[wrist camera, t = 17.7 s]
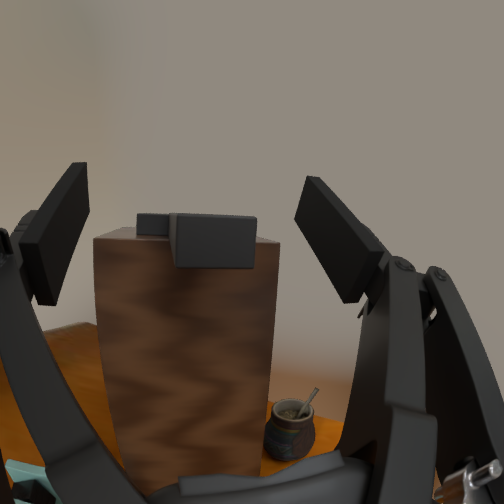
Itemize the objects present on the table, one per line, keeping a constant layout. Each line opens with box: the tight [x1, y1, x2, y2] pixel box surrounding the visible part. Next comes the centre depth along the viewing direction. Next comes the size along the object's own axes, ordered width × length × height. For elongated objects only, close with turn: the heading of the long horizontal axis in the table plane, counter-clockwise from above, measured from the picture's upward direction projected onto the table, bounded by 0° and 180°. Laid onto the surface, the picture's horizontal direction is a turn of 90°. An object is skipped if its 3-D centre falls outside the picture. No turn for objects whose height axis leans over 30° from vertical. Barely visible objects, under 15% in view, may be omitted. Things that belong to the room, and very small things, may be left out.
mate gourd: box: [263, 388, 319, 461], centre depth 36 cm, size 7×8×10 cm
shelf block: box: [93, 227, 280, 497], centre depth 27 cm, size 12×14×30 cm
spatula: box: [136, 213, 257, 269], centre depth 20 cm, size 7×23×2 cm, turn 16°
